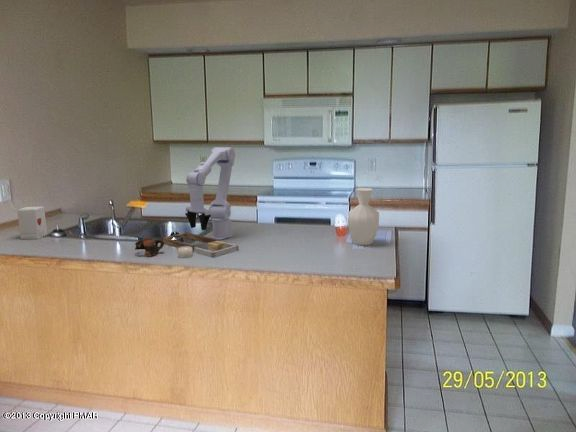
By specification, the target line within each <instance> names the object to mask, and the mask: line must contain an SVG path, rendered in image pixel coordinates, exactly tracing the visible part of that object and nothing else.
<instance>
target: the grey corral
mask: <svg viewBox="0 0 576 432" xmlns="http://www.w3.org/2000/svg"><path fill="white" fill-rule="evenodd" d="M225 243H226V248H225V249H221V250H218V251H214V252H213V251H209V250H208V249H204V248H200V247H199V246H198V247H194V252H195V253H196V254H199V255H203V256H205V257H207V256H208V257H210V258H216V257H219V256H223V255H226V254H230V253H233V252H236V251H237V252H238V251H239V245H237V244H235V243H234V244H233V243H229V242H225Z"/></svg>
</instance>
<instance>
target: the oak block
mask: <svg viewBox="0 0 576 432" xmlns="http://www.w3.org/2000/svg"><path fill="white" fill-rule="evenodd" d="M226 243H227V242H225V241H221V240H217V241H214V242H210V243H207V250H209V251H213V252H214V251H218V250H221V249H225V248H226Z"/></svg>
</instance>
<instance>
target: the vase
mask: <svg viewBox="0 0 576 432" xmlns="http://www.w3.org/2000/svg"><path fill="white" fill-rule="evenodd" d="M355 192H356V196H357V200H358V203H359V204H358V205H356V206H355V207H353V208H352V209H351V210H349V211H348V213H347V225H348V229H349V230H348V231H349V234H350V239H351V241H352V242H353V244H354V245H358V246H370V245H372V244H373V242H374V240H375V239H376V237H377V233H378V230H379V226H380V225H379V224H380V223H379V222H380V212H379V211H377V210H376V209H375V208H373V207H372V205H370V200H371V197H372V192H373V188H368V187H367V188H365V187H363V188H361V187H358V188H356V189H355Z"/></svg>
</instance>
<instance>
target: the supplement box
mask: <svg viewBox="0 0 576 432" xmlns="http://www.w3.org/2000/svg"><path fill="white" fill-rule="evenodd" d="M16 212H17V219H18V226H19V235H20V240H39V239H41V238H43V236H44V237H46V236H47V235H48V229H47V221H46V212H45V206H40V205H39V206H25V207H22V208H19V209H17V211H16ZM45 235H46V236H45Z"/></svg>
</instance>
